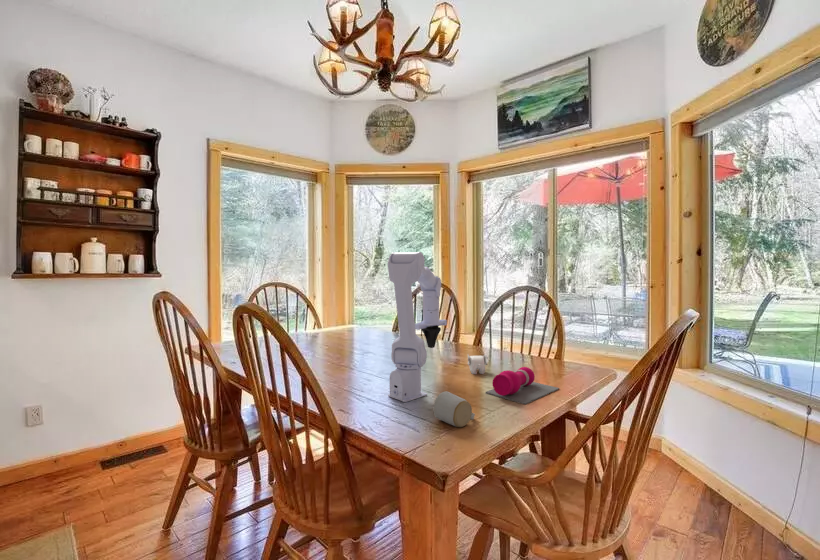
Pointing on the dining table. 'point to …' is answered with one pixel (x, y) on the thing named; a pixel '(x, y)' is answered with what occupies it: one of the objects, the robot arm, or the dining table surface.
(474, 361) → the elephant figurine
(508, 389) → the pepper mill
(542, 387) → the mat
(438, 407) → the ceramic mug
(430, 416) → the dining table surface
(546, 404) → the dining table surface
